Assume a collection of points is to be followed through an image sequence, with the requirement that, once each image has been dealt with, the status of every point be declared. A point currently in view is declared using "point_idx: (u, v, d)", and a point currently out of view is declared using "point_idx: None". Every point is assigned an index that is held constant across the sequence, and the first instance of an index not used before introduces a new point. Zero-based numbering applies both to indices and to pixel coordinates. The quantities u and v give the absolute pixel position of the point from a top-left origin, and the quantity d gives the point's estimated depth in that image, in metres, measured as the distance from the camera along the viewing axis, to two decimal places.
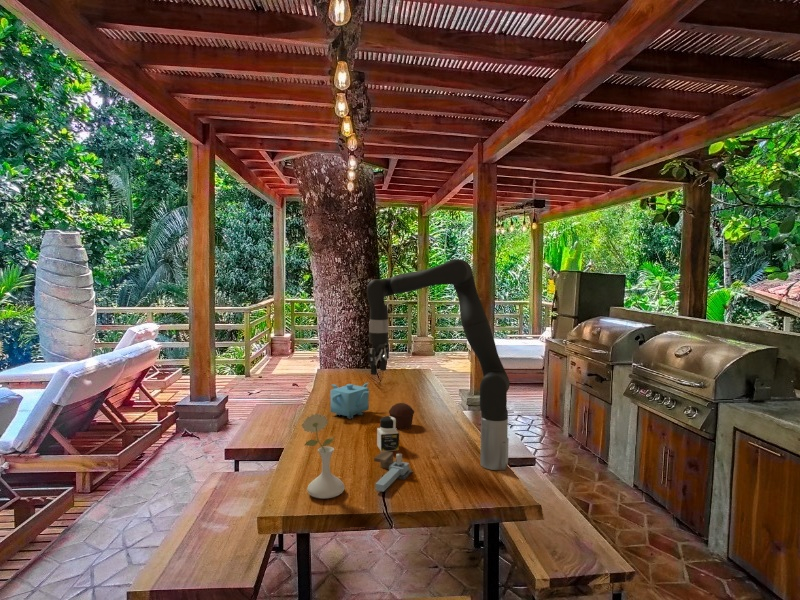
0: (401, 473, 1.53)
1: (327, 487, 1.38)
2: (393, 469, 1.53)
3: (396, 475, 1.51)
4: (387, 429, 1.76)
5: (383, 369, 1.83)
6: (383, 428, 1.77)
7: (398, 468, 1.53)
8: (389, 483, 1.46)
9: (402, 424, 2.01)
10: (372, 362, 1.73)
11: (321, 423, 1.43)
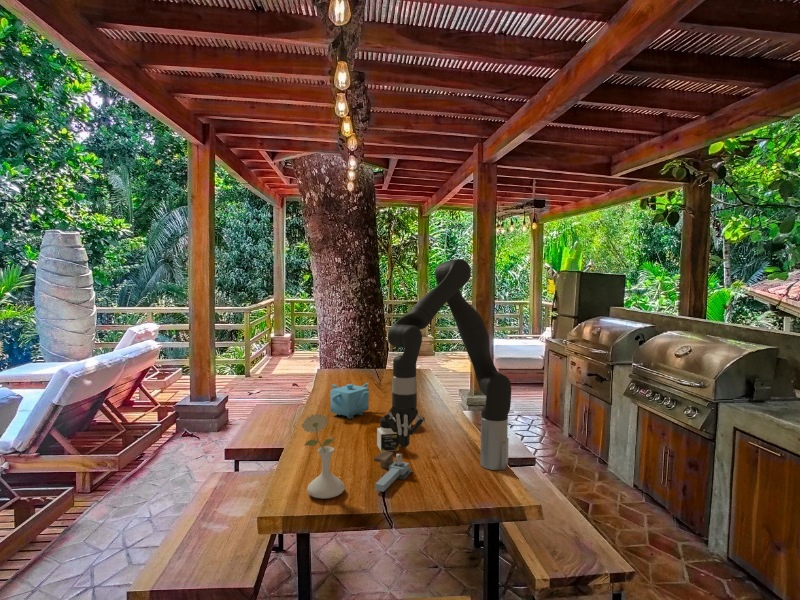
0: (401, 473, 1.53)
1: (327, 487, 1.38)
2: (393, 469, 1.53)
3: (396, 475, 1.51)
4: (387, 429, 1.76)
5: None
6: (383, 428, 1.77)
7: (398, 468, 1.53)
8: (389, 483, 1.46)
9: None
10: (415, 430, 1.40)
11: (321, 423, 1.43)
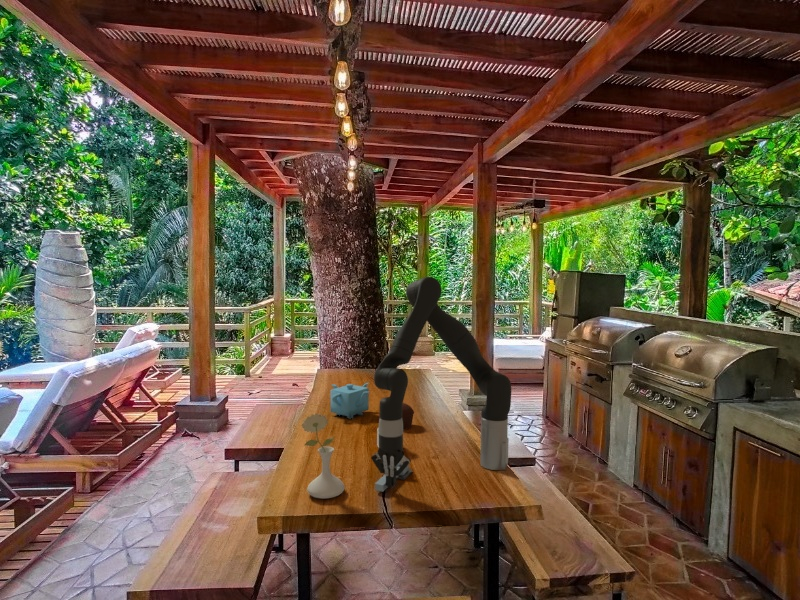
0: (401, 473, 1.53)
1: (327, 487, 1.38)
2: None
3: None
4: None
5: None
6: None
7: (398, 468, 1.53)
8: None
9: None
10: None
11: (321, 423, 1.43)
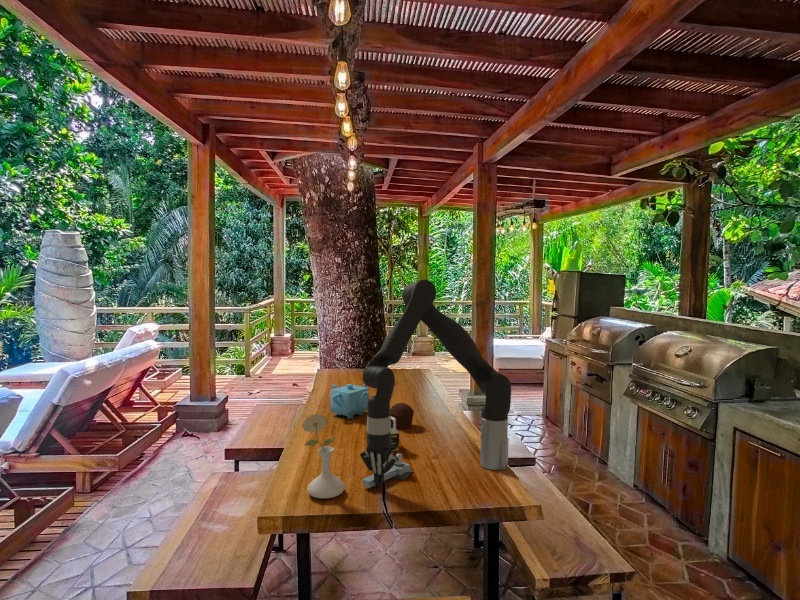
0: (398, 473, 1.53)
1: (327, 487, 1.38)
2: None
3: (391, 474, 1.51)
4: None
5: None
6: None
7: (395, 468, 1.54)
8: None
9: (402, 424, 2.01)
10: (389, 469, 1.44)
11: (321, 423, 1.43)
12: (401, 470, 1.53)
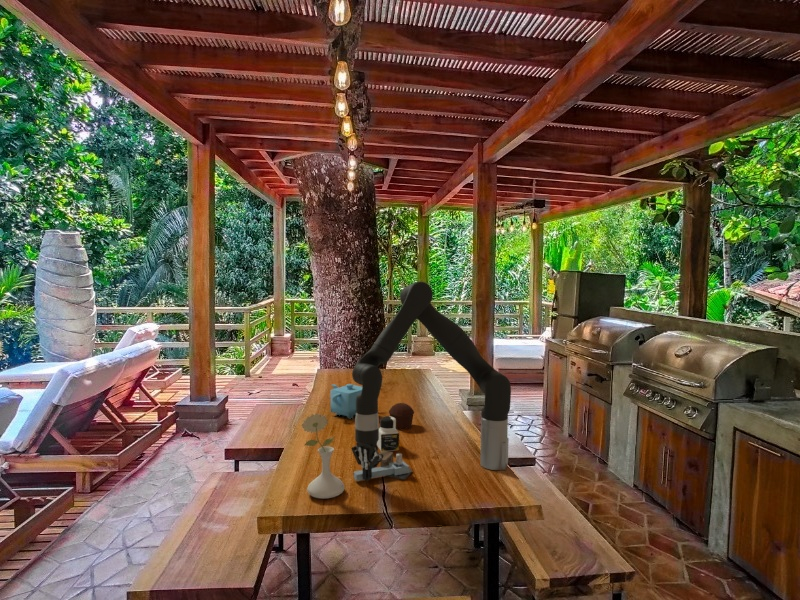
0: (394, 473, 1.53)
1: (327, 487, 1.38)
2: (388, 466, 1.55)
3: (385, 472, 1.53)
4: (387, 429, 1.76)
5: None
6: (383, 428, 1.77)
7: (392, 467, 1.54)
8: None
9: (402, 424, 2.01)
10: (375, 465, 1.46)
11: (321, 423, 1.43)
12: (397, 470, 1.53)
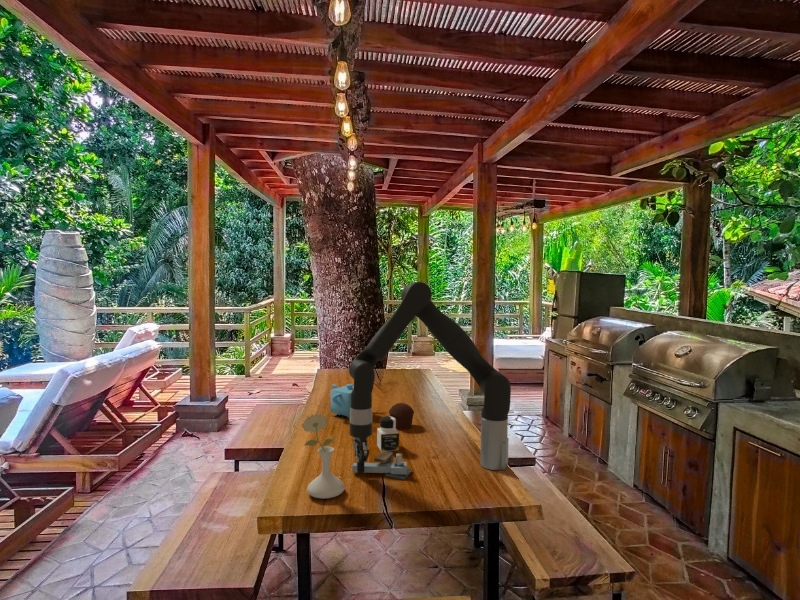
0: (391, 471, 1.54)
1: (327, 487, 1.38)
2: (387, 464, 1.57)
3: (382, 469, 1.55)
4: (387, 429, 1.76)
5: None
6: (383, 428, 1.77)
7: (391, 466, 1.55)
8: (365, 470, 1.55)
9: (402, 424, 2.01)
10: (365, 460, 1.51)
11: (321, 423, 1.43)
12: (393, 469, 1.54)
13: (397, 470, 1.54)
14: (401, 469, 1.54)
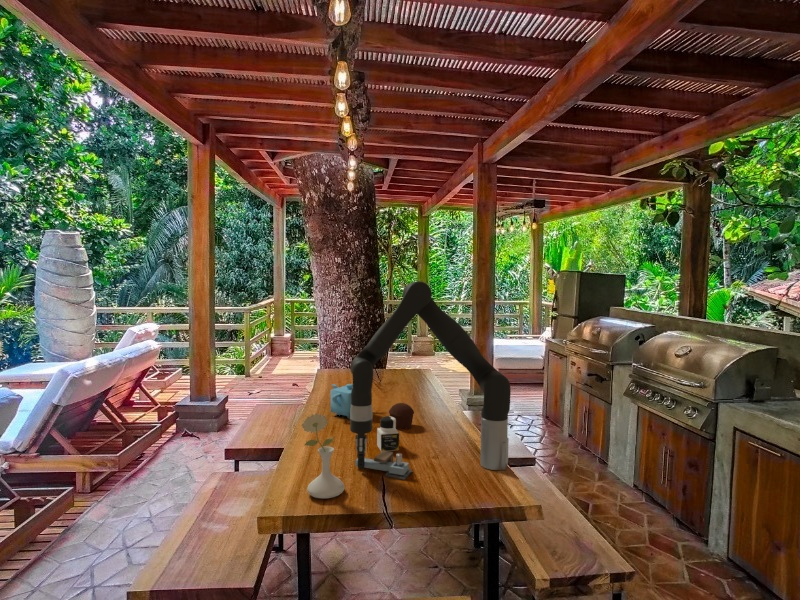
0: None
1: (327, 487, 1.38)
2: (389, 463, 1.58)
3: (382, 467, 1.57)
4: (387, 429, 1.76)
5: None
6: (383, 428, 1.77)
7: (390, 464, 1.56)
8: (367, 465, 1.59)
9: (402, 424, 2.01)
10: (363, 455, 1.54)
11: (321, 423, 1.43)
12: (391, 469, 1.54)
13: (395, 470, 1.54)
14: (398, 469, 1.53)
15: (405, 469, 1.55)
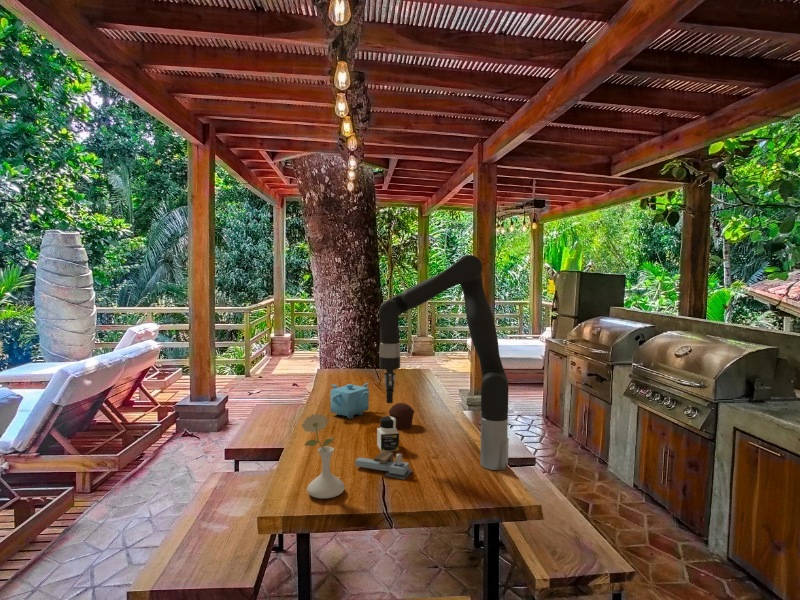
0: None
1: (327, 487, 1.38)
2: (389, 463, 1.58)
3: (382, 467, 1.57)
4: (387, 429, 1.76)
5: None
6: (383, 428, 1.77)
7: (390, 464, 1.56)
8: (367, 465, 1.59)
9: (402, 424, 2.01)
10: (392, 390, 1.64)
11: (321, 423, 1.43)
12: (391, 469, 1.54)
13: (395, 470, 1.54)
14: (398, 469, 1.53)
15: (405, 469, 1.55)
